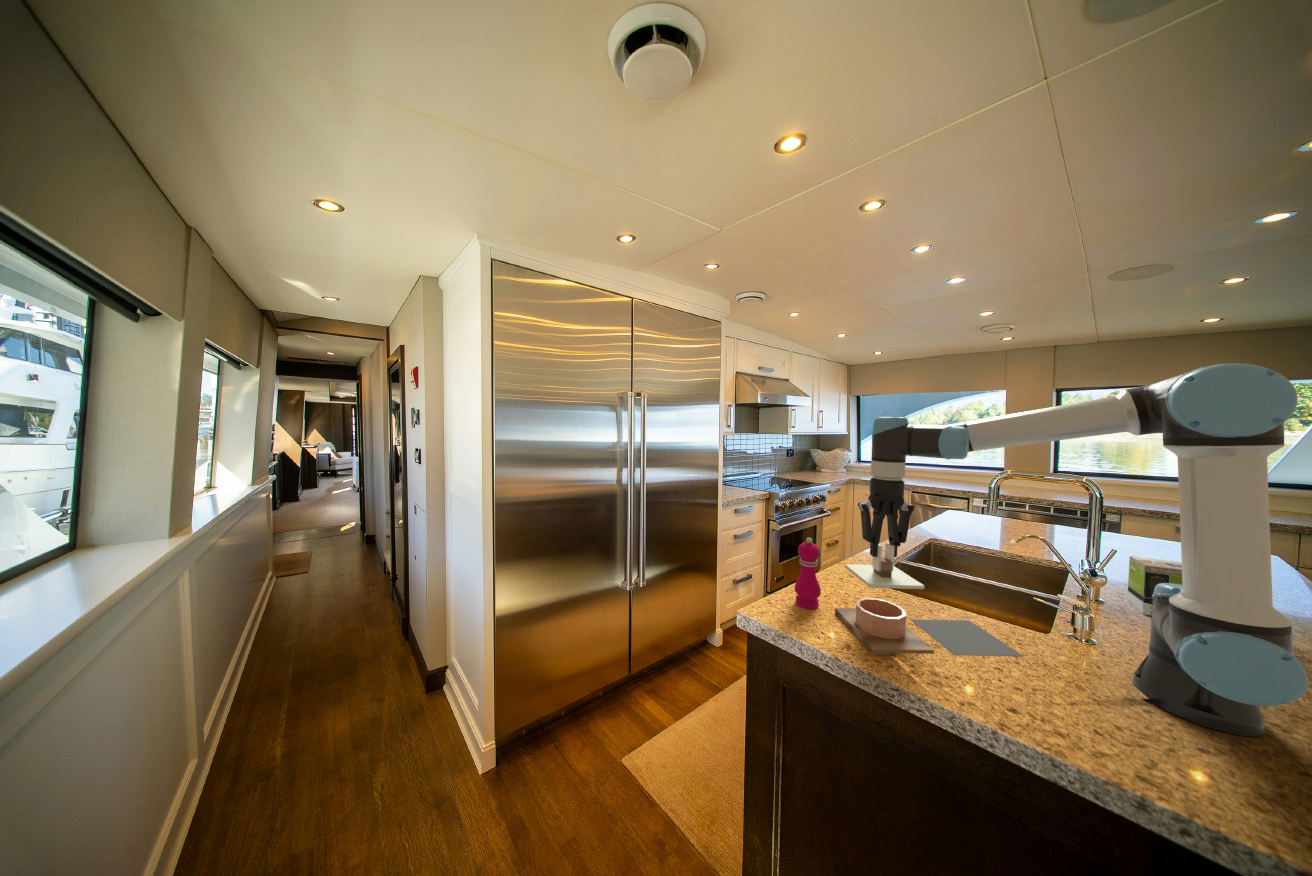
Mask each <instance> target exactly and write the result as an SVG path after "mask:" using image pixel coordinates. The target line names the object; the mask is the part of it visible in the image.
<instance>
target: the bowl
mask: <svg viewBox="0 0 1312 876" xmlns="http://www.w3.org/2000/svg"><path fill="white" fill-rule="evenodd" d="M855 608H856V625H857V626H858V627H859V628H860V629H861V630H863V631H865V632H867V633H869V634H871V635H874V636H878V637H882V638H886V639H899V638H901V637H903V636H905V627H907V626H906V625H907V624H906V623H907V611H906V610H905V609H904V608H902V607H901V606H900V605H898V604H896V603H893V602H891V601H888V600H884V599H881V598H876V597H875V598H874V597H872V598H871V597H862V598H860V599H857V600H856V604H855Z"/></svg>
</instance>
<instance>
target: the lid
mask: <svg viewBox="0 0 1312 876" xmlns="http://www.w3.org/2000/svg"><path fill="white" fill-rule="evenodd" d="M844 568H845V569H846V570H848V571H849V572H850V573H852V575H853V576H855V577H856V578H857V579H859V580H860V581H861V582H862V583H863V584H864V585H866V586H867V587H869V588H871V589H905V590H911V589H912V590H925V589H926V588H925V584H923V583H921V582H920V581H918V580H916V579H915V578H914V577H911V576H910V575H909V574H907V573H905V572H904V571H903V570H901V569H899V568H898V567H896V566H895V565H894V567H893V571H892V562H891V561H890V560H888V559H887V558H885V556H883V555H882V561H881V571H877V570H876V569H875V568H873V567H872V564H848V563H847V564H844Z"/></svg>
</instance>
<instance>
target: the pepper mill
mask: <svg viewBox="0 0 1312 876" xmlns="http://www.w3.org/2000/svg"><path fill="white" fill-rule="evenodd" d="M797 554H798V556H799V557H800V558H799V564H800V572H799V575H798V577H797V579H796V580H795V584H794V592H795V593H796V596H795V603H796V605H797V606H798V607H799V608H804V609H807V610H815V609H817V608H819V605H820V604H819V603H820V602H819V601H820V600H819V599H818V598H819V597H820V596H821V594H822V592H821V586H820V583H819V581H818V578H817V575H816V569H817V566H818V565H819V563H818V559H819V557H820V555H821V552H820V548H819V546H817V545H816V544H815V543H813V538H811V537H807V538H806V539H805V542H803V543H800V544H799V546H798V549H797Z"/></svg>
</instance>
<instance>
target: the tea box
mask: <svg viewBox="0 0 1312 876" xmlns="http://www.w3.org/2000/svg"><path fill="white" fill-rule="evenodd" d="M1128 561H1129V562H1128V563H1129V564H1128V582H1127V583H1128V584H1127V602H1128V603H1129V604H1130V605H1131V606H1132V605H1133V606H1132V607H1133V608H1135V609H1136V610H1137V609H1138V610H1139V611H1138V610H1137V611H1138V612H1140V614H1142V615H1146V616H1151V617H1152V608H1153V598H1152V595H1153V594H1154V589H1155V586H1156V585H1157V584H1160V583H1172V584H1180V585H1183V584H1182V561H1181V562H1180V561H1172V560H1165V559H1164V560H1163V559H1155V558H1147V557H1139V556H1129V560H1128Z"/></svg>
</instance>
